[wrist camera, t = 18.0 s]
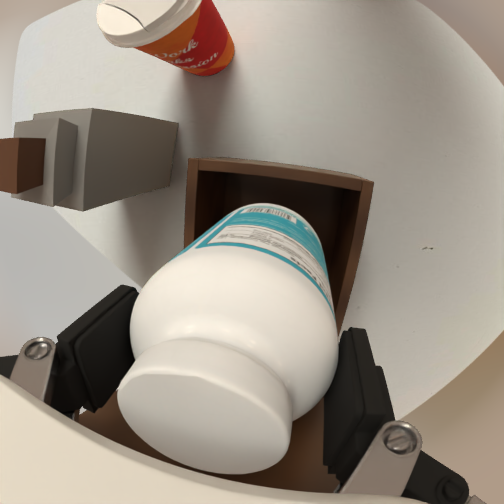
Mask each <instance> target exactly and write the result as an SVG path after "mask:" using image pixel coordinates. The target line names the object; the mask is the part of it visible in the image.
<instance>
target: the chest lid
mask: <svg viewBox="0 0 504 504" xmlns="http://www.w3.org/2000/svg"><path fill="white" fill-rule="evenodd" d="M117 392H118V390H116V391H115V392H114V393H113V395H112V396H111V397H110V399H109V400H108V401H107V403H106V404H105V405H104V406H103V407H102V408H98V410H97V411H96V412H95V414H94V413H92V412H90V411H88V410H86V411H85V412H83V413H82V414H80V415H79V424H80V425H82V426H84V427H86V428H88V429H90V430H92V431H94V432H96V433H98V434H100V435H102V436H104V437H106V438H108V439H110V440H112V441H114V442H116V443H118V444H121V445H123V446H125V447H127V448H130V449H132V450H135V451H137V452H139V453H142V454H144V455H147V456H150V457H152V458H155V459H158V460H160V461H163V462H166V463H169V464H172V465H175V466H178V467H181V468H185V469H188V470H191V471H195V472H198V473H202V474H205V475H209V476H213V477H217V478H221V479H226V480H230V481H235V482H240V483H245V484H250V485H256V486H262V487H269V488H276V489H284V490H293V491H303V492H315V493H332V492H333V490H334V489H335V488H336V486H337V485H338V484H339V482H340V481H339V480H337V479H336V474H328V466H324V465H323V431H324V396H323V397H322V399H321V400H320V401H319V402H318V403H317V404H316V405H315V406H314V407H313V408H312V409H311V410H310V411H308V412H307V413H306V414H304V415H303V416H301V417H299V418H298V419H296V420H294V421H292V430H291V438H290V444H289V447H288V450H287V452H286V454H285V455H284V457H283V458H282V459H281V460H280V461H279V462H278V463H276V464H275V465H273V466H271V467H269V468H267V469H264V470H262V471H258V472H253V473H247V474H221V473H214V472H208V471H204V470H200V469H196V468H193V467H190V466H187V465H184V464H182V463H180V462H178V461H175V460H173V459H171V458H169V457H167V456H165V455H163V454H162V453H160V452H159V451H157V450H156V449H154V448H153V447H151V446H150V445H148V444H147V443H146V442H145V441H143V440H142V439H141V438H140V437H139V436H138V435H137V434H136V433H135V432H134V431H133V430H132V429H131V427H130V426H129V425H128V423H127V422H126V420H125V419H124V417H123V415H122V413H121V411H120V408H119V405H118V400H117Z"/></svg>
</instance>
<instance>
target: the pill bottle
mask: <svg viewBox="0 0 504 504" xmlns="http://www.w3.org/2000/svg"><path fill="white" fill-rule="evenodd" d="M130 340H131V346H132V351H133V355H134V358H135V360H136V361H135V362H134V364H133V365H132V367H131V368H130V369H129V371H128V372H127V374H126V375H125V377H124V378H123V379H122V381H121V383H120V385H119V388H118V392H117V400H118V405H119V408H120V411H121V413H122V415H123V417H124V419H125V420H126V422H127V423H128V425H129V426H130V427H131V429H132V430H133V431H134V432H135V433H136V434H137V435H138V436H139V437H140V438H141V439H142V440H143V441H145V442H146V443H147V444H148V445H150V446H151V447H153V448H154V449H156V450H157V451H159V452H160V453H162V454H163V455H165V456H167V457H169V458H171V459H173V460H175V461H178V462H180V463H182V464H184V465H187V466H190V467H193V468H196V469H200V470H204V471H208V472H214V473H221V474H247V473H253V472H258V471H262V470H264V469H267V468H269V467H271V466H273V465H275V464H276V463H278V462H279V461H280V460H281V459H282V458H283V457H284V455H285V454H286V452H287V450H288V447H289V444H290V438H291V430H292V421H294V420H296V419H298V418H299V417H301V416H303V415H304V414H306V413H307V412H308V411H310V410H311V409H312V408H313V407H314V406H315V405H316V404H317V403H318V402H319V401H320V400H321V399H322V397H323V396H324V395H325V393H326V392H327V390H328V389H329V387H330V385H331V383H332V381H333V378H334V375H335V372H336V369H337V365H338V356H339V344H338V336H337V327H336V320H335V313H334V307H333V302H332V296H331V290H330V285H329V279H328V273H327V268H326V263H325V258H324V253H323V250H322V246H321V243H320V240H319V238H318V236H317V234H316V232H315V231H314V229H313V228H312V227H311V226H310V224H309V223H308V222H307V221H306V220H305V219H304V218H303V217H301V216H300V215H299V214H297V213H296V212H294V211H292V210H290V209H288V208H286V207H283V206H280V205H275V204H269V203H258V204H251V205H247V206H244V207H241V208H238V209H237V210H235V211H233V212H231V213H230V214H228V215H227V216H225V217H224V218H223V219H221V220H220V221H219V222H218V223H216V224H215V225H214V226H213V227H211V228H210V229H209V230H208V231H206V232H205V233H204V234H203V235H201V236H200V237H199V238H197V239H196V240H195V241H194V242H192V243H191V244H190V245H189V246H187V247H186V248H185V249H184V250H182V251H181V252H180V253H179V254H177V255H176V256H175V257H174V258H172V259H171V260H170V261H169V262H168V263H166V264H165V265H164V266H163V267H162V268H161V269H159V270H158V271H157V272H156V273H155V274H154V275H153V276H152V277H151V278H150V279H149V280H148V282H147V283H146V284H145V285H144V287H143V288H142V290H141V292H140V293H139V295H138V297H137V299H136V302H135V304H134V307H133V310H132V315H131V321H130Z"/></svg>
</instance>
